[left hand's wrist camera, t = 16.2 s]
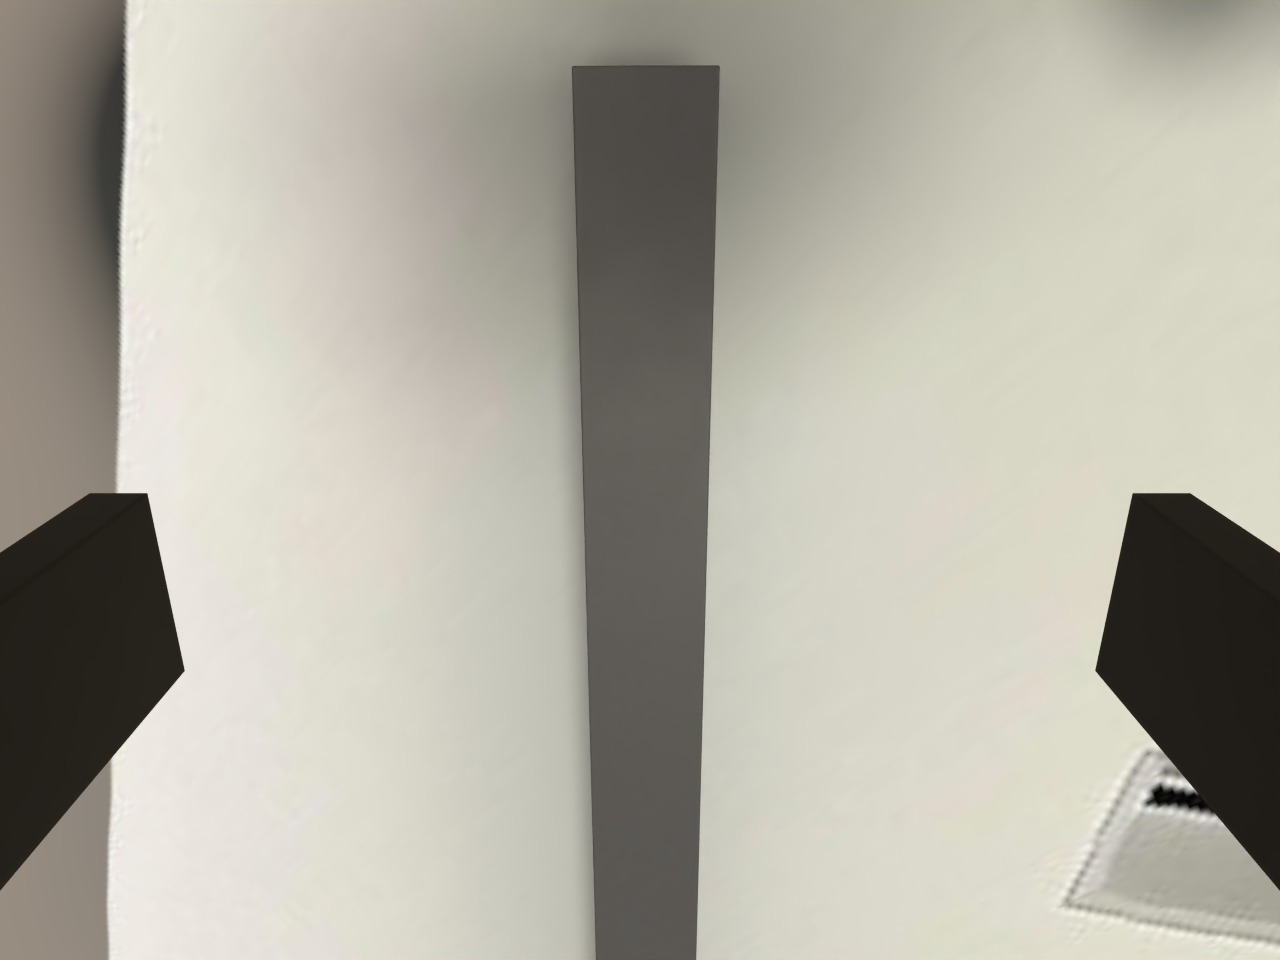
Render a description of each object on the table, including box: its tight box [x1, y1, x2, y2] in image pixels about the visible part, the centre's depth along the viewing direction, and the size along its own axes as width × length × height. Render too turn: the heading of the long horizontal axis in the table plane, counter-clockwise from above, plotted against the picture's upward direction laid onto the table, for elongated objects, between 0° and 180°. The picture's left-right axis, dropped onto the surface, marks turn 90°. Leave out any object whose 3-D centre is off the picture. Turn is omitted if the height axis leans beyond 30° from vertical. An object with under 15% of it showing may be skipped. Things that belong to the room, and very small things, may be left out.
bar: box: [572, 66, 720, 960], centre depth 49 cm, size 82×5×8 cm, turn 0°
